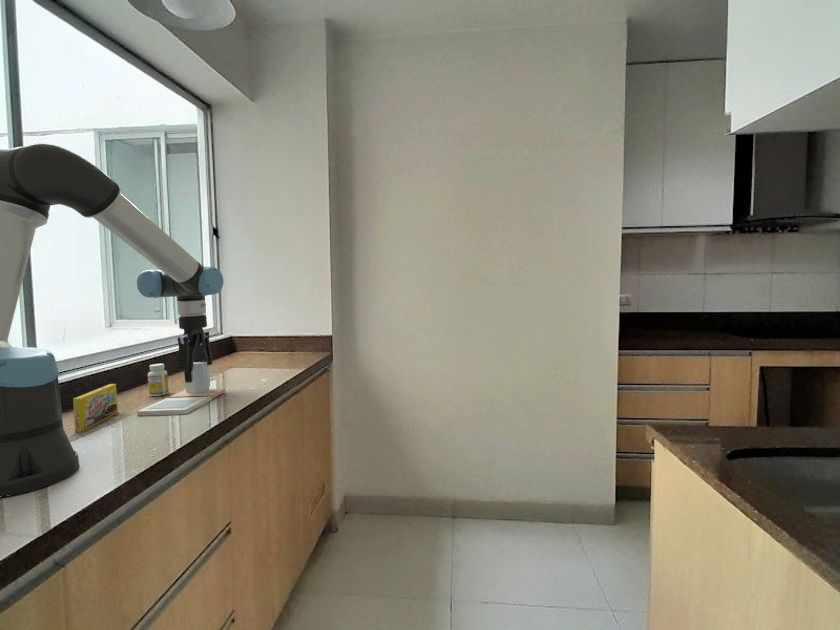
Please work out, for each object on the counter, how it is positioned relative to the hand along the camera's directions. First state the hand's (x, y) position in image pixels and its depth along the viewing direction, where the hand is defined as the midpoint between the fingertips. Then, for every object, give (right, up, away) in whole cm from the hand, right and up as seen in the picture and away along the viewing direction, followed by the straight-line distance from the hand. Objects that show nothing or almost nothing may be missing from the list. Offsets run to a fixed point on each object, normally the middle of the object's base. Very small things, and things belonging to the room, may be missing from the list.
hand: (198, 389), depth 136 cm
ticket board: (0, -3, -12) cm, 12 cm away
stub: (0, -2, -1) cm, 2 cm away
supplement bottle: (-15, -3, +5) cm, 16 cm away
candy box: (-15, -5, -22) cm, 27 cm away
